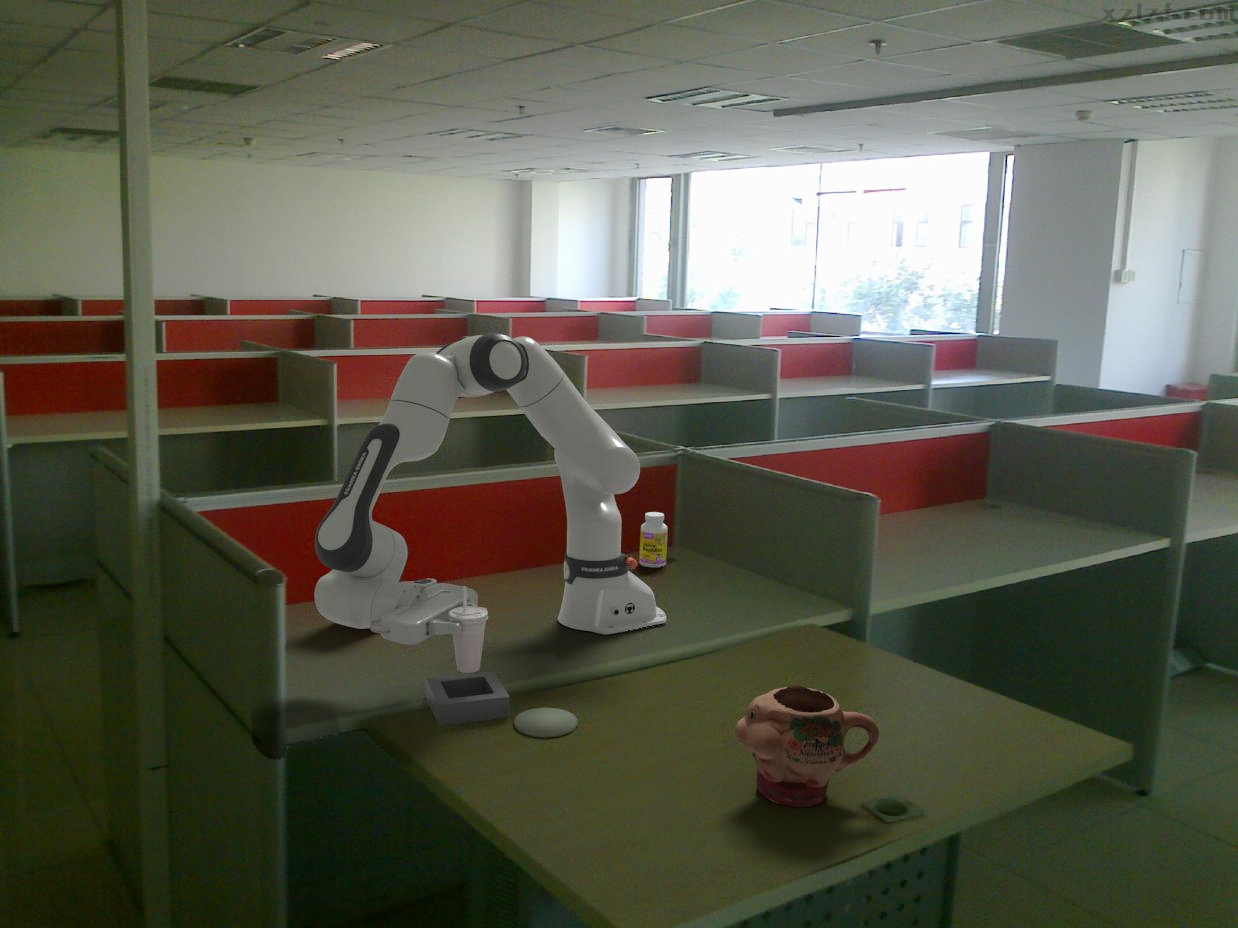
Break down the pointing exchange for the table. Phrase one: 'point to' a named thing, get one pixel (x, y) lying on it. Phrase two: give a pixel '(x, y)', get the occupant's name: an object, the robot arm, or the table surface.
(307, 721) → the table surface
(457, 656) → the smoothie
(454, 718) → the socket collar
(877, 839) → the table surface
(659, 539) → the supplement bottle
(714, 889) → the table surface
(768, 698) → the cartoon character mug
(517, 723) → the rubber pad
